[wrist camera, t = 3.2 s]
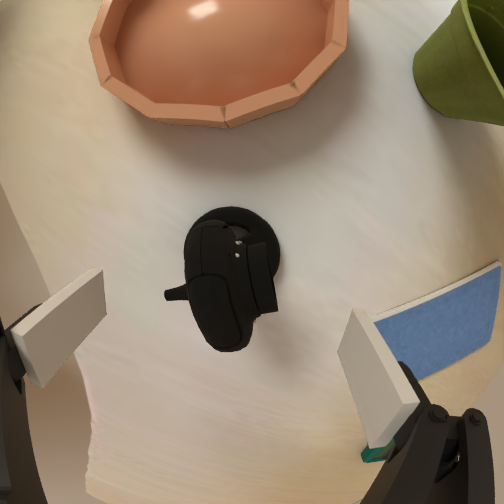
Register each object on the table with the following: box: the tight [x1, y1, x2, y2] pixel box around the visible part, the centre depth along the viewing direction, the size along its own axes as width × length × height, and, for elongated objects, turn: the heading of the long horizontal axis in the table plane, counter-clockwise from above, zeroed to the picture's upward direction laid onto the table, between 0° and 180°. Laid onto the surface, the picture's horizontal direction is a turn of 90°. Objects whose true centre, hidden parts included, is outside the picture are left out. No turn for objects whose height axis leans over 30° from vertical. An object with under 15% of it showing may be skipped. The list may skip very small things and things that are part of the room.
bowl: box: [89, 0, 349, 129], centre depth 14 cm, size 19×19×4 cm
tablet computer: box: [370, 261, 502, 381], centre depth 24 cm, size 19×13×1 cm, turn 108°
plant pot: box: [413, 0, 504, 126], centre depth 11 cm, size 12×12×11 cm
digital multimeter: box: [361, 438, 395, 463], centre depth 30 cm, size 7×15×3 cm, turn 76°
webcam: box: [164, 206, 280, 352], centre depth 17 cm, size 8×8×10 cm
